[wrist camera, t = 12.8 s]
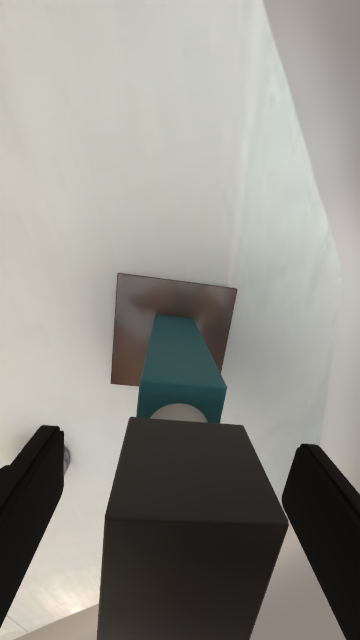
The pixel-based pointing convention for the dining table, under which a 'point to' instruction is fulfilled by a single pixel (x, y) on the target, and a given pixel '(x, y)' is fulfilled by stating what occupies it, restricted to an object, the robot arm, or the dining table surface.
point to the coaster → (172, 300)
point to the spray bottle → (186, 506)
